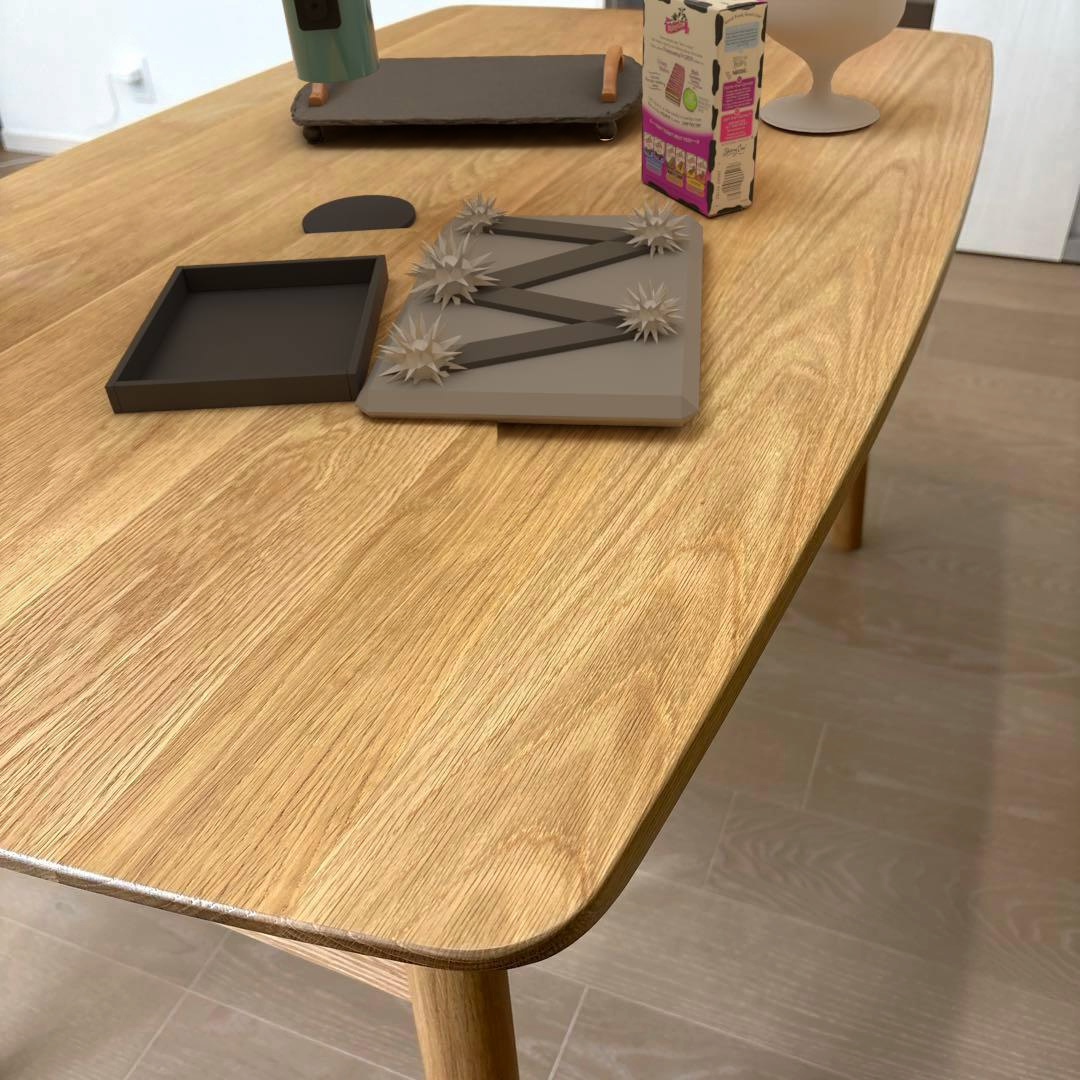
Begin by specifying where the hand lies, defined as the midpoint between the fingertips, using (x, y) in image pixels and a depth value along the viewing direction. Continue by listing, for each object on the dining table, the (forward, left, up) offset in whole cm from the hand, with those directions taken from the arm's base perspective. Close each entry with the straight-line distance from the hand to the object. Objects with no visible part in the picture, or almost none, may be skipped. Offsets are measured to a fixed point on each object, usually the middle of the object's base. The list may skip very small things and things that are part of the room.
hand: (328, 14), depth 84 cm
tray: (-4, -23, -17) cm, 29 cm away
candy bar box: (+30, +2, -17) cm, 34 cm away
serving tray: (+9, +29, -17) cm, 35 cm away
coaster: (0, 0, -17) cm, 17 cm away
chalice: (+45, +21, -17) cm, 52 cm away
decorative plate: (+16, -21, -17) cm, 32 cm away
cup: (0, 0, -4) cm, 4 cm away
